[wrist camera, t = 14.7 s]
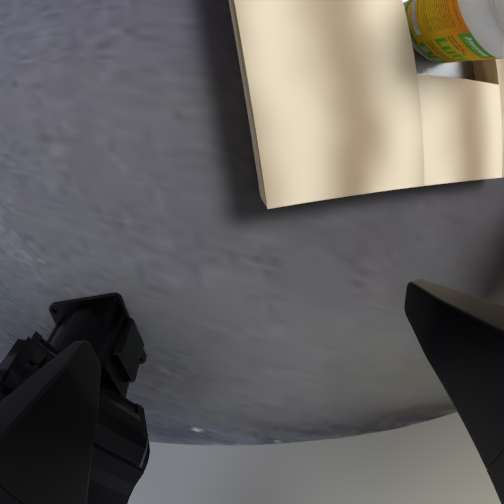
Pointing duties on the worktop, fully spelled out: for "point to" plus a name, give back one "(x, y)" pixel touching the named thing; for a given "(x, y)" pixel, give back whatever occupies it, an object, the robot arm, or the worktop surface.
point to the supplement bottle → (456, 29)
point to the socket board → (359, 102)
